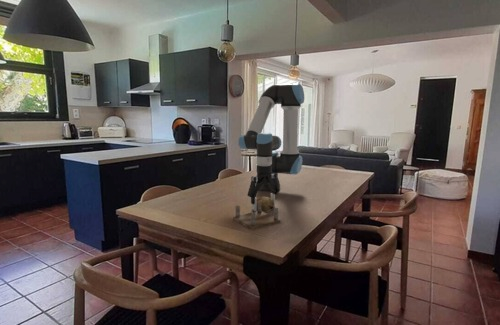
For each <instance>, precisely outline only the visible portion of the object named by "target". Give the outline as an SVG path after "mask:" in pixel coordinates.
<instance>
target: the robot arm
mask: <svg viewBox="0 0 500 325" xmlns="http://www.w3.org/2000/svg"><path fill="white" fill-rule="evenodd" d="M304 102H305V92H304V88H303V84H301V83H298V82H297V83H296V82H292V83H290V82H289V83H276V84H275V83H274V84H272V85H271V86H269V87H268V88H267V89H266V90H264V92H263V93H262V94H261V96H260V98H259V99H258V106H257V109H256V111H255V113H254V115H253V118H252V120H251V122H250V124H249V127H248V129H247V131H246V133H245V134H243V135H240V136H239V137H238V141H237V142H238V146H239V148H240V149H243V150H250V151H251V150H255V151H256V164H257V165H256V176H251V178H250V179H251V180H250V184H249V188H248V192H247V194H246V195H247V196H248V197H249V198H250V203H251V210H252V211H253V212H256V211H258V210H257V198H258V197H256V196H257V195H258V192H259V190H260V191H263V192H264V191H265V192H271V193H270V199H271V200H272V201H273V203H274V207H273V208H276V200H277V195H278V193H280V189H281V184H280V179H279V176H278V174H283V175H292V176H293V175H294V176H295V175H298V174H299V173H300V172H301V169H302V166H303V156H301V155H300V151H299V150H298V129H299V128H298V126H299V124H298V123H299V122H298V121H299V109H301V107H302V105H303V104H304ZM275 105H280V108H281V109H282V110H283V119H282V120H283V122H282V123H283V126H282V127H283V129H282V139H281V138H280V137H279V136H278V135H273V134H272V133H271V132H263V129H264V127H265V124H266V123H267V119H268V117H269V115H270V113H271V110H272V109H273V108H274V107H275ZM281 147H282V150H281V151H280V154H279V152H278V151H277V150H279V149H280V148H281Z"/></svg>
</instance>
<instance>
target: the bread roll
mask: <svg viewBox="0 0 500 325" xmlns="http://www.w3.org/2000/svg"><path fill="white" fill-rule="evenodd" d="M256 198H257V211H258V201H261V202H262V205H261V211H262V212H270V211H272V210H274V208H275V207H274V203H273V201H272V200H271V197H269V196H259V197H256Z"/></svg>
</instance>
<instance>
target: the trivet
mask: <svg viewBox="0 0 500 325" xmlns="http://www.w3.org/2000/svg"><path fill="white" fill-rule="evenodd" d="M261 205H262V202H261V201H258V210H257V211H253V212H248V213H243V214H240V213H241V212H240V211H241V206H240V205H235V215H234V216H233V217H232V219H233V220H234V221H235V222H237V223H239V224H241V225H242V226H244V227H246V228H248V229H249V230H251V231H255V230H259V229H261V228H267V227H269V226H273V225H276V224H280V223H281V219H279V208H278V207H273V215H270V214H268V213H266V212H265V211H261Z"/></svg>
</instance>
